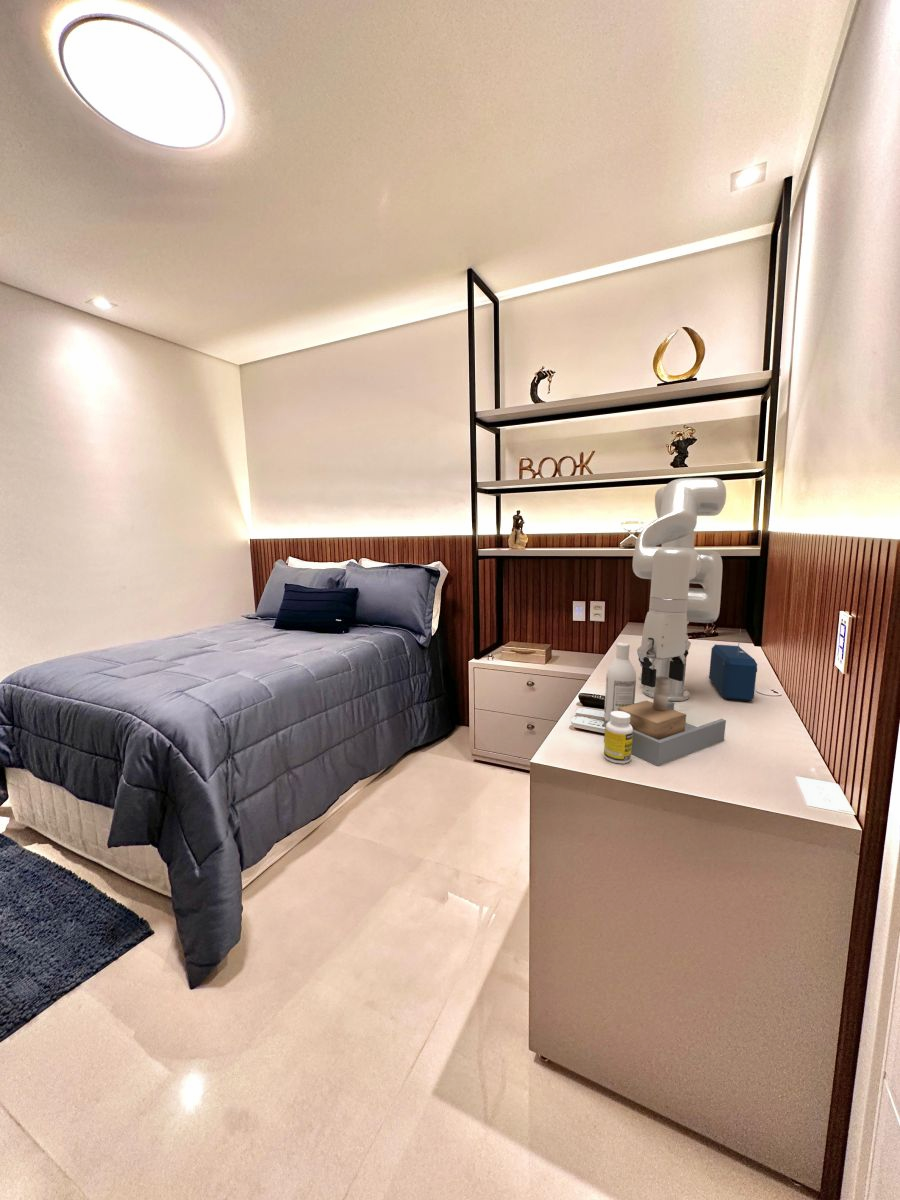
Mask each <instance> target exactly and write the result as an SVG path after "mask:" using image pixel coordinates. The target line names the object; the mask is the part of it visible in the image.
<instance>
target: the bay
mask: <svg viewBox="0 0 900 1200" xmlns="http://www.w3.org/2000/svg"><path fill="white" fill-rule="evenodd" d="M668 708H670V709H673V710H675V701H668ZM609 721H611V720H610V719H608V720H606V721H605V720H604V722H605V723H604V724H605V725H604V732H605V731H606V724H607V723H608V722H609ZM726 722H727V720H726V719H724V718H720V719H715V720H713V721H710V722H707V723H704V724H702V725H700V726H696V725H694V724H691V723H688V722H685V731H684V732H681V733H678V734H675V735H672V736H669V737H666V738H664V739H661V740H657V739H655V738H652V737H650V736H648V735H645V734H643V733H640V732H638V731H636V730H633V735H632V748H631V755H634V756H635V757H638V758H640V759H642V760H644V761H646V762H648V763H651V764H653V765H655V766H657V767H660V766H662V765H664V764H667V763H670V762H672V761H675V760H677V759H681V758H684V757H685V756H688V755H690V754H693V753H696V752H698V751H701V750H704V749H707V748H708V747H711V746H714V745H716V744H719V743H723V742H724V741H725V735H726V733H725V732H726ZM603 741H604V742H605V736H604V739H603Z"/></svg>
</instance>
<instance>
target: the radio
mask: <svg viewBox="0 0 900 1200" xmlns="http://www.w3.org/2000/svg"><path fill="white" fill-rule="evenodd" d="M739 632H741V628H740V629H739ZM740 640H741V633H739V636H738V642H740ZM709 663H710V664H709V672H708V673H709V675H708V679H709V680H710V681H711V683H712V685H713V686H714V687H715V688H716V689H717V691H718V692H719V694H720V695H721V696H722V698H723V699H724V700H734V701H745V702H751V701H752V700H753V699H754V697H755V689H756V681H757V672H758V663H757V662H756V660H755V658H753V657H752V656H751V655H750V654H748V653H747V652H746V651H745V650H744V649H742V648H741V646H740V643H738V644H737V645H730V644H714V645H713V647H711V651H710V662H709Z"/></svg>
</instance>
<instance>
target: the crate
mask: <svg viewBox="0 0 900 1200" xmlns="http://www.w3.org/2000/svg"><path fill="white" fill-rule="evenodd" d="M669 684H670V679H669V678H667V677H662V676H657V677H656V684H655V687H654V698H653V701H650V700H647V699H646V700H643V701H640V702H635V703H634V704H631V705H628V706H624V707H620V708H618V711H622V712H626V713H628V714H630V723H629V724H630V725H631V726H632V728H633V730H636V731H638V732H640V733H643V734H645V735H648V736H650V737H652V738H655V739H657V740H661V739H664V738H666V737H669V736H672V735H675V734H678V733H681V732H684V731H685V722H686V720H687V718H686V717H687V713H684V712H681V711H679V710H676V709H674V710H673V709H670V708H668V702H669V701H668V696H669ZM686 723H687V722H686Z"/></svg>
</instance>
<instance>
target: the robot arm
mask: <svg viewBox="0 0 900 1200" xmlns="http://www.w3.org/2000/svg"><path fill="white" fill-rule="evenodd" d="M726 500H727V487H726V485H725V483H724V481H723V480H722V479H720V478H717V477H686V478H677V479H674V480H671V481H670V482H668V483H667V484H666V486H665V485H664V486H662V487H660V488H659V489H658V490H657V491H656V492H655V494H654V507H655V512H656V517H657V519H655V520H653V521H652V522H650V523H649V524H648V525H647V526H645V527H644V528H643V529H642V530H641V531H640V532H639V534H638V536H637V538H636V541H635V544H634V545H635V547H634V549H633V550H634V551H633V556H632V571H633V573H634V575H635V576H636V577H638V578H640V579H644V580H645V579H646V580H650V595H649V605H648V606H649V607H648V608H649V609H648V611H647V612H646V615H645V620H644V625H643V629H642V636H641V644H640V646H639V647H638V648H637V649H636V653H637V656H638V661H639V663H640V667H641V673H640V675H639V676H638V680H639V681H640V684H641V685H642V693H643V694H645V695H646V696H647V697H650V698H653V699H654V687H655V684H656V677H657V676H662V677H667V678H669V679H670V684H669V696H668V702H680V701H681V702H683V701H686V700H689V698H690V692H689V691H688V690H686V689H685V678H686V671H687V670H686V668H687V667H686V666H687V656H688V655H689V651H690V649H691V645H692V643H691V641H690V640H689V637H688V622H691V623H702V624H711V623H714V622H716V621H717V619H718V618H719V616H720V610H721V609H720V608H721V596H722V581H723V559H722V556H721V554H720V552H718V551H716V550H711V549H696V548H695V537H696V532H695V529H696V527H697V523H698V522H697V520H698V517H715V516H717V515H719V514H720V513H721V512H722V511H723V509H724V508H725V505H726ZM660 545H661V546H660ZM690 584H695V585H696V584H699V585H701V586H702V588H700V587H699V588H698V587H690Z"/></svg>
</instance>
